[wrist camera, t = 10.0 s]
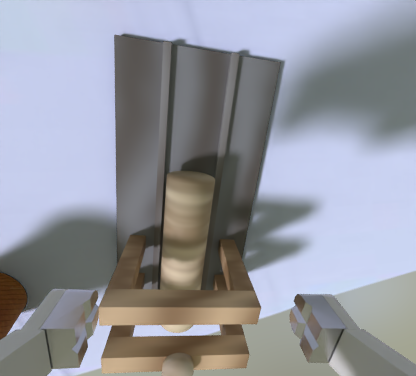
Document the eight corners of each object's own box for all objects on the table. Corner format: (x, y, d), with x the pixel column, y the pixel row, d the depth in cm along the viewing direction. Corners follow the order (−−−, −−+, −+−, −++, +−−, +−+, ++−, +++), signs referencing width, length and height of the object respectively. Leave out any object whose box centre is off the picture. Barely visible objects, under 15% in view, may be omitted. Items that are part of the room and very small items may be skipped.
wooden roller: (169, 168, 20) (164, 181, 16) (212, 173, 20) (217, 186, 16) (160, 298, 24) (155, 332, 21) (196, 299, 25) (197, 333, 21)
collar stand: (277, 64, 18) (370, 16, 9) (232, 297, 26) (258, 395, 17) (116, 37, 17) (35, -55, 7) (119, 296, 24) (81, 405, 15)
